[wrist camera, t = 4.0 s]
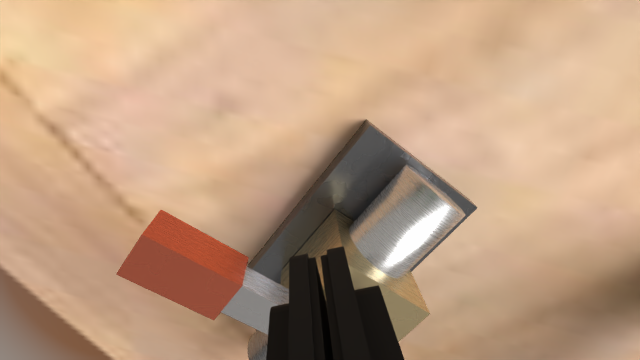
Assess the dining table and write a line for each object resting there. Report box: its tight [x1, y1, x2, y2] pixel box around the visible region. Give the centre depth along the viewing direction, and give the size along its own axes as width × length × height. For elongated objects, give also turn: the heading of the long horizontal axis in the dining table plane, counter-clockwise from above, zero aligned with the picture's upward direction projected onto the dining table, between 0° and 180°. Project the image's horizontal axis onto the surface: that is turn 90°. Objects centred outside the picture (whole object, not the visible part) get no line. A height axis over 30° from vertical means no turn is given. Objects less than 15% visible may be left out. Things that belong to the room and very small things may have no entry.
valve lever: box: [117, 210, 289, 335], centre depth 18 cm, size 15×3×2 cm, turn 53°
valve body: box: [247, 120, 477, 360], centre depth 25 cm, size 20×11×9 cm, turn 143°
